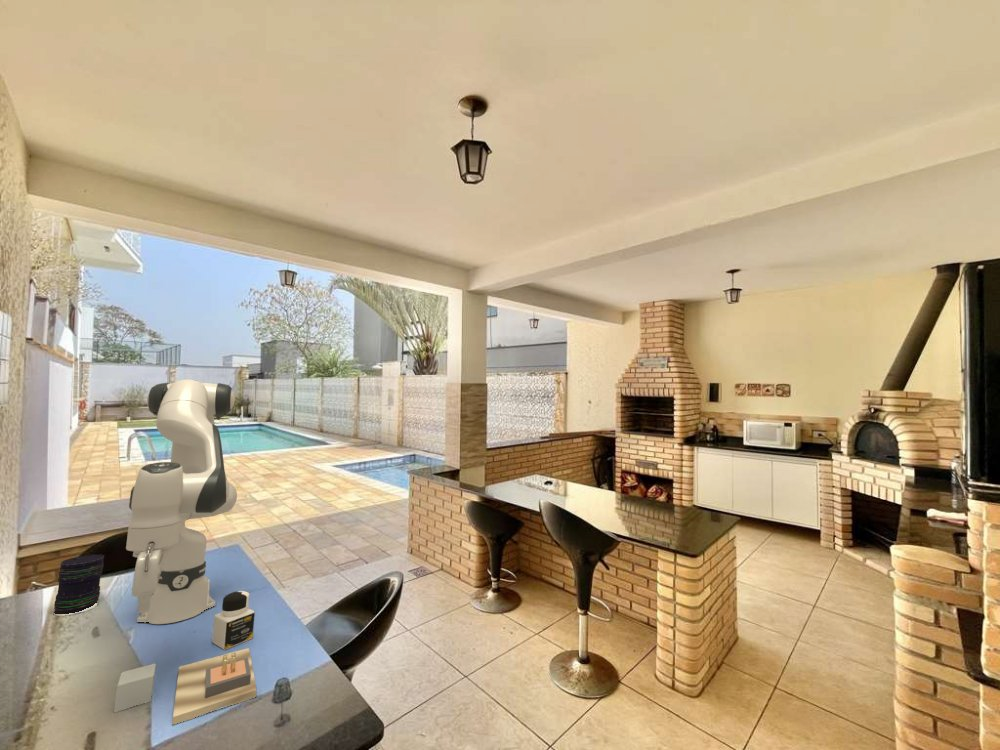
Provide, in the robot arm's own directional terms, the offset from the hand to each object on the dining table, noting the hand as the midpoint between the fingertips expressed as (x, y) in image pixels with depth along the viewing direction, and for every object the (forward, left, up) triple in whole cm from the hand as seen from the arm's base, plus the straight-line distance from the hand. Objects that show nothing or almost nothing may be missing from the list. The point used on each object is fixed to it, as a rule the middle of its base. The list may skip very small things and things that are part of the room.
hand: (146, 603), depth 87 cm
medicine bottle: (-16, +18, -20) cm, 31 cm away
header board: (+4, +14, -19) cm, 24 cm away
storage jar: (-66, -21, -19) cm, 72 cm away
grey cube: (0, 0, -19) cm, 19 cm away
